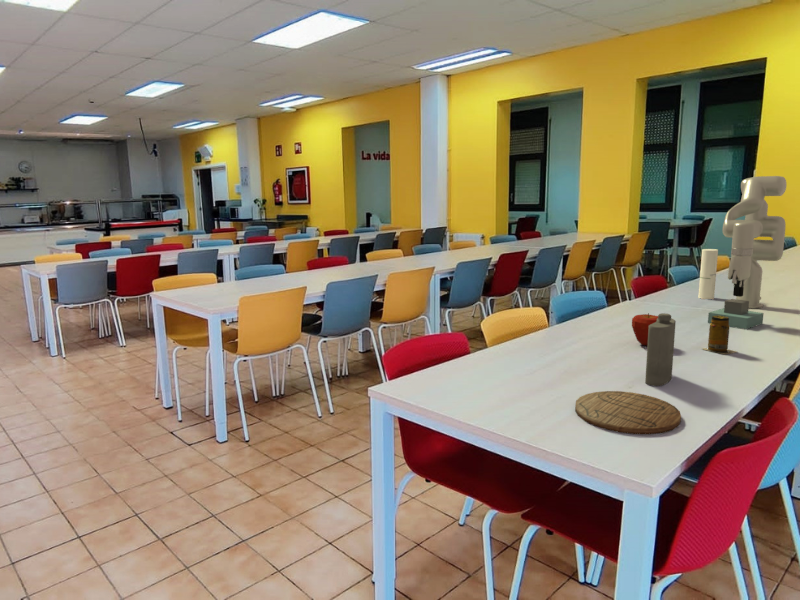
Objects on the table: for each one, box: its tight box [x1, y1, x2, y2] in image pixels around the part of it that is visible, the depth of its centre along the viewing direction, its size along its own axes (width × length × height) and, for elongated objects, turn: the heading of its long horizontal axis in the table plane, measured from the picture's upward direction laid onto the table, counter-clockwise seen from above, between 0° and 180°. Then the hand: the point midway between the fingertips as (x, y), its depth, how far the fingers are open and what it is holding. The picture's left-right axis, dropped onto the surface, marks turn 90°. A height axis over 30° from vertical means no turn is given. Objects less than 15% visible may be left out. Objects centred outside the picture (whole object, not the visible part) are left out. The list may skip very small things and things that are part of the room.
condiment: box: [702, 316, 738, 355], centre depth 196 cm, size 7×8×12 cm
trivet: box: [574, 390, 682, 436], centre depth 144 cm, size 25×25×2 cm
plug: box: [723, 298, 750, 315], centre depth 234 cm, size 7×7×9 cm
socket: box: [707, 307, 764, 330], centre depth 235 cm, size 15×15×4 cm
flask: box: [644, 312, 677, 387], centre depth 167 cm, size 15×6×20 cm, turn 144°
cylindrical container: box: [698, 248, 719, 300], centre depth 286 cm, size 7×7×25 cm
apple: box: [631, 313, 658, 346], centre depth 205 cm, size 11×11×12 cm
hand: (738, 295), depth 235 cm, fingers closed
